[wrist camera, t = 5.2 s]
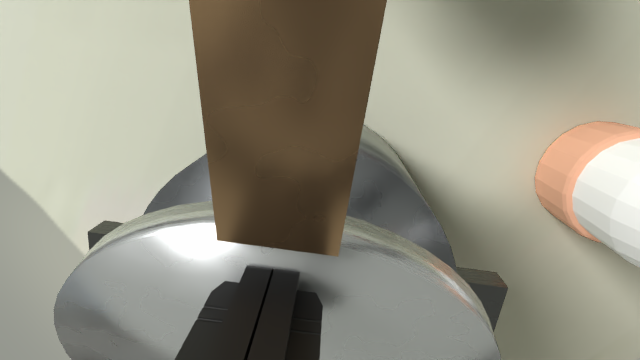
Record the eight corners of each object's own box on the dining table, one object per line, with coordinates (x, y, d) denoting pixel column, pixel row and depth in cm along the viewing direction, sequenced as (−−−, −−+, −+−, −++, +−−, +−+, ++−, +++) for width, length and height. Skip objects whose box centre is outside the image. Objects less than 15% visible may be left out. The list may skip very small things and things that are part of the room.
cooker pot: (478, 130, 24) (565, 173, 15) (422, 346, 30) (459, 477, 21) (164, 90, 25) (54, 107, 15) (167, 312, 31) (90, 425, 21)
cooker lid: (769, 12, 6) (977, 66, 4) (421, 450, 20) (428, 514, 18) (-151, -100, 7) (-398, -102, 4) (131, 410, 21) (105, 468, 18)
